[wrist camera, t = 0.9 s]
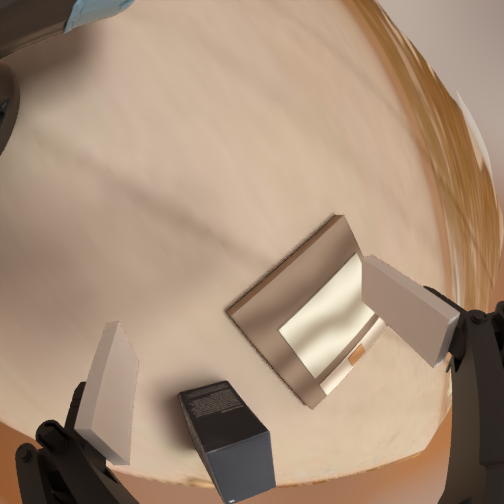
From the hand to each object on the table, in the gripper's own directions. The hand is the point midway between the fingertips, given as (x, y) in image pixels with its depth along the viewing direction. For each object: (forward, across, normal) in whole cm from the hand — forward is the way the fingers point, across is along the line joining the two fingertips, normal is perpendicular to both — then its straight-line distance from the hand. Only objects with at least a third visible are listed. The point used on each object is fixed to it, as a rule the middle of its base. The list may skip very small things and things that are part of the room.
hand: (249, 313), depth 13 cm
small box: (+9, -6, -20) cm, 23 cm away
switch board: (+15, +11, -14) cm, 23 cm away
